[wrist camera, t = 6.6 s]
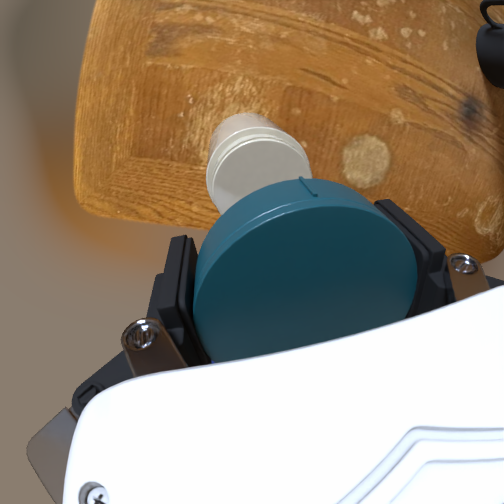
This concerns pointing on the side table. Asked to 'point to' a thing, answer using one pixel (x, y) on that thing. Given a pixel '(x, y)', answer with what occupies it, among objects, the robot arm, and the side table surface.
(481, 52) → the mug
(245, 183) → the jar
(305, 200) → the jar lid
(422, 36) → the side table surface
